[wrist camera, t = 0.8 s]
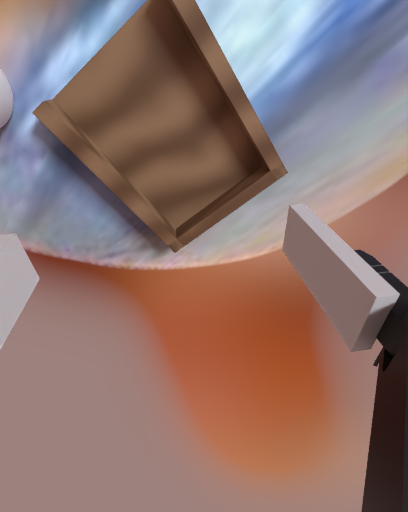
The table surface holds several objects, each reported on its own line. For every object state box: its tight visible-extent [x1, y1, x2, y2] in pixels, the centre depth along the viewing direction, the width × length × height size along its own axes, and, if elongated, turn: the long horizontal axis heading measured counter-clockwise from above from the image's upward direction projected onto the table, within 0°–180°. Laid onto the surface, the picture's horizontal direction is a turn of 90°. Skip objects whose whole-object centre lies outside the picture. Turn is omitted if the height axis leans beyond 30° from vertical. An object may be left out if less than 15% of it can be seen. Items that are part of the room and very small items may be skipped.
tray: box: [32, 0, 287, 252], centre depth 31 cm, size 22×18×4 cm
